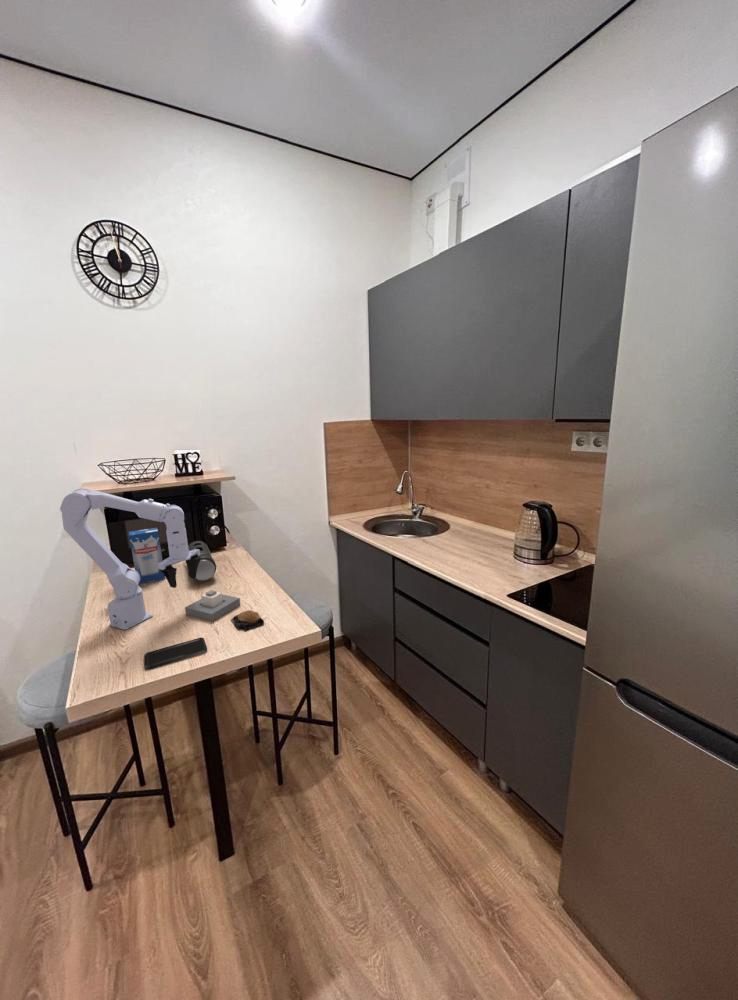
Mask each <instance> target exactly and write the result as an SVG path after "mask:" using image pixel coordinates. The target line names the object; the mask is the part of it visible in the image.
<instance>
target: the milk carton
mask: <svg viewBox="0 0 738 1000" xmlns="http://www.w3.org/2000/svg"><path fill="white" fill-rule="evenodd" d="M128 538H129V543H130V548H131V553H132V561H133V565H134V570H136V571H137V572H138V573H139V574H140V582H139V584H138V585H143V584H148V583H151V582H157V581H162V580H165V579H166V577H165V576H164V574H163V573H162V572H161V571H160V569H159V568H158V563H160V562H162V561H164V560H163V556H162V549H161V543H160V540H161V539H160V535H159V530H158V527H152V528H144V529H139V530H132V531H128Z"/></svg>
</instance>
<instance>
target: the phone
mask: <svg viewBox="0 0 738 1000" xmlns="http://www.w3.org/2000/svg"><path fill="white" fill-rule="evenodd" d="M207 652H208V647H207V644H206V641H205V638H204V637H198V638H195V639H191V640H186V641H183V642H180V643H176V644H172V645H169V646H167V647H162V648H158V649H154V650H152V651H151V650H150V651H148V652H146V653H145V654H143V656H144V657H143V658H144V659H143V660H144V661H143V663H144V664H143V665H144V670H147V671H149V670H152V669H156V668H160V667H163V666H166V665H170V664H172V663H177V662H179V661H183V660H186V659H190V658H193V657H197V656H200V655H203V654H206V653H207Z"/></svg>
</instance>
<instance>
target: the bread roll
mask: <svg viewBox="0 0 738 1000" xmlns="http://www.w3.org/2000/svg"><path fill="white" fill-rule="evenodd" d="M230 622H231V624H232V625H234V627H236V628H237V630H239V631H245V632H249V631H251V630H255V629H258V628H261V627H262V626H263V625H264V624H265V621H264V619H263V618H262V617H261V615H260V614H259V613H258V612H257V611H254V610H244V611H241V612H240V613H238V614H237V615H234V616H233V617H232V618H231V619H230Z"/></svg>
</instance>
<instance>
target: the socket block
mask: <svg viewBox="0 0 738 1000" xmlns="http://www.w3.org/2000/svg"><path fill="white" fill-rule="evenodd" d="M222 601H223V603H222V604H220V605H218V606H216V607H215V608H211V607H207V606H203V605H202V600H201V598H200V599H198V600H196V601H194V602H192V603H191V604H188V605H187V606H185V607H184V609H185V615H186V616H189V617H193V618H194V617H195V618H198V619H202V620H206V621H209V622H210V621H211V622H214V621H216V620H218V619H219V618H221V617H223V616H224V615H226V614H228V613H229V612H231V611H233V610H234V609H236V608H238V607H239V606H241V597H236V596H232V595H227V594H222Z"/></svg>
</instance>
